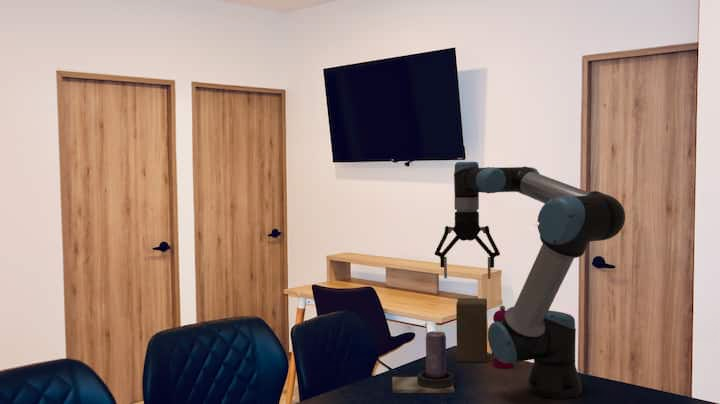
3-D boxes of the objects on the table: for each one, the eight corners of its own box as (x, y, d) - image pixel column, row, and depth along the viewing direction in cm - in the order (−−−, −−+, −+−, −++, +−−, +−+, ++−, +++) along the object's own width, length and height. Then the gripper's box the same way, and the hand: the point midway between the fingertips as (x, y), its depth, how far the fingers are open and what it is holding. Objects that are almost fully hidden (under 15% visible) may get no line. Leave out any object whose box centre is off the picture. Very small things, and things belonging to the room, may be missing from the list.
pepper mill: (487, 365, 224) (486, 305, 223) (500, 361, 228) (500, 302, 228) (505, 370, 218) (504, 308, 217) (518, 365, 223) (518, 305, 222)
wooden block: (486, 362, 227) (486, 303, 226) (456, 361, 229) (456, 303, 228) (487, 354, 237) (486, 298, 236) (458, 353, 239) (457, 297, 238)
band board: (451, 380, 209) (451, 369, 209) (455, 392, 197) (455, 381, 197) (392, 380, 209) (392, 369, 209) (392, 392, 198) (392, 381, 197)
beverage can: (449, 381, 204) (449, 332, 203) (441, 387, 199) (440, 336, 198) (431, 378, 207) (431, 330, 206) (423, 384, 202) (422, 334, 201)
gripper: (506, 209, 214) (506, 276, 215) (427, 210, 218) (428, 275, 219) (508, 211, 206) (508, 280, 207) (426, 211, 210) (426, 279, 211)
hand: (467, 278), depth 213 cm, fingers open, 13 cm apart
